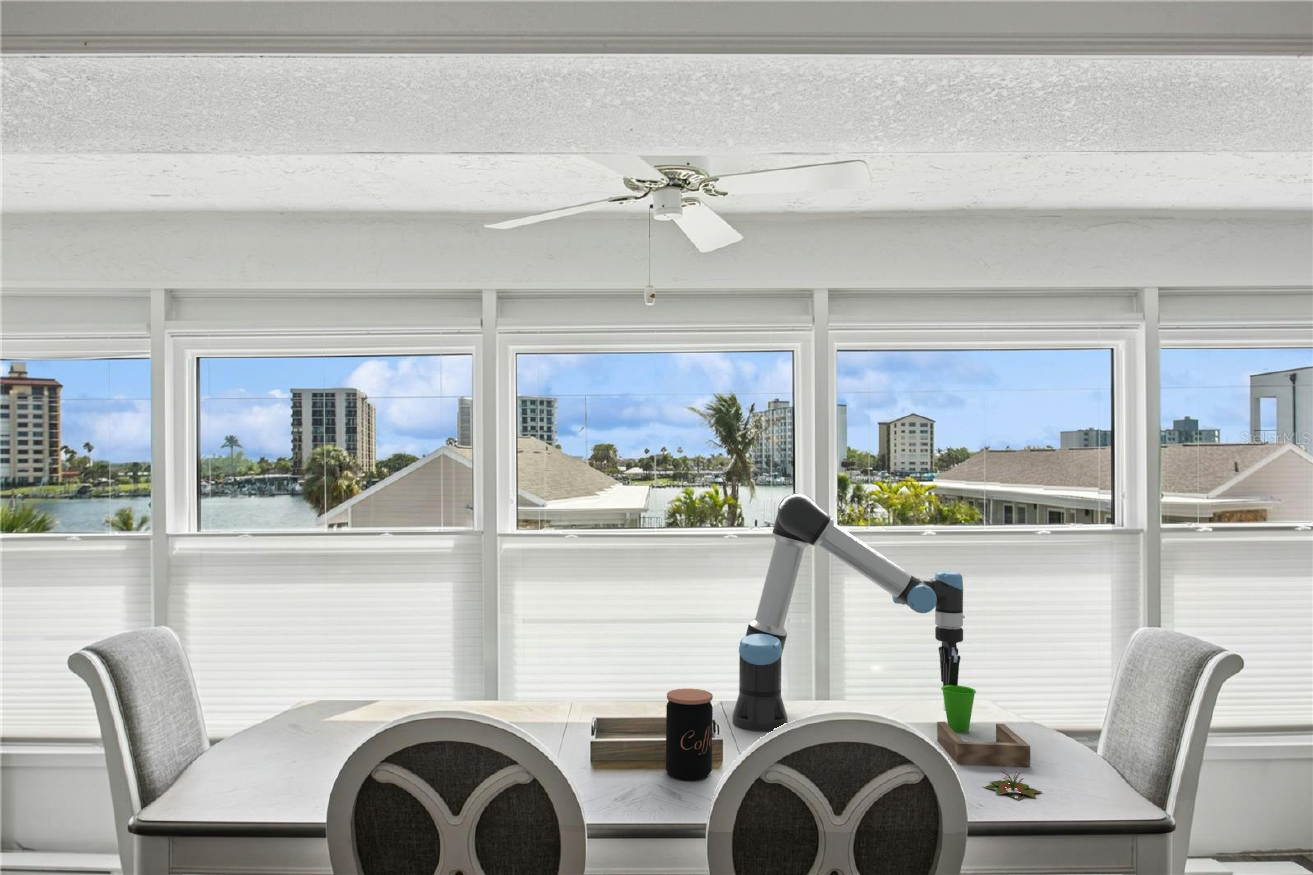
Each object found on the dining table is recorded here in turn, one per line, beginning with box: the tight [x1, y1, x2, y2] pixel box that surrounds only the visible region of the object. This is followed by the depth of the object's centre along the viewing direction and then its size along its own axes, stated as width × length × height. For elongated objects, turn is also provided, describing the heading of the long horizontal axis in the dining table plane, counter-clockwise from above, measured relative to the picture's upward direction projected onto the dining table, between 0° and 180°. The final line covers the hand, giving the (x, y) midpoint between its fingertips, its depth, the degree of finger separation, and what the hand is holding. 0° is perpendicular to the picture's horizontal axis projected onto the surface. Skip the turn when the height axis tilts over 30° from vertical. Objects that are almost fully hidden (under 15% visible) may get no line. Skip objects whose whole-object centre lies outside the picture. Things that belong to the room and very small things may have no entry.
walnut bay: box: [936, 721, 1031, 768], centre depth 208 cm, size 17×18×5 cm
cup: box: [940, 685, 977, 734], centre depth 228 cm, size 9×9×11 cm
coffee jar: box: [665, 688, 714, 782], centre depth 191 cm, size 11×11×18 cm
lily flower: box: [983, 769, 1042, 802], centre depth 184 cm, size 12×12×5 cm
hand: (949, 710), depth 236 cm, fingers closed
